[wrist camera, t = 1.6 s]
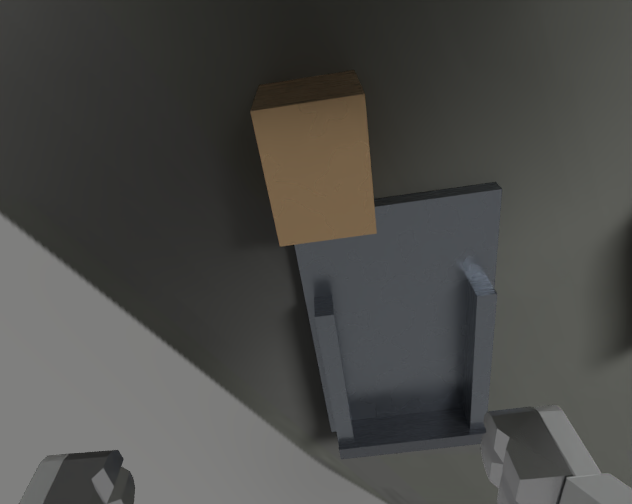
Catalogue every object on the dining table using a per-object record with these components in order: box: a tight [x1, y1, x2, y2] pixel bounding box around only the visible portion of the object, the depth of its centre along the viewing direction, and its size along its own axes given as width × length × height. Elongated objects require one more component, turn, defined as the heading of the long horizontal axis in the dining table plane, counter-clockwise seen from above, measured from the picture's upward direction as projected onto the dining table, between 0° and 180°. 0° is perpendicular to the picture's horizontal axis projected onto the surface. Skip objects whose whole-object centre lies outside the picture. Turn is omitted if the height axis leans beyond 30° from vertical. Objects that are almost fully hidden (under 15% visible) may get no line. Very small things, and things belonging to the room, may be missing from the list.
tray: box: [294, 182, 502, 459], centre depth 32 cm, size 12×20×4 cm, turn 8°
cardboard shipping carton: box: [250, 70, 377, 247], centre depth 24 cm, size 5×7×5 cm
